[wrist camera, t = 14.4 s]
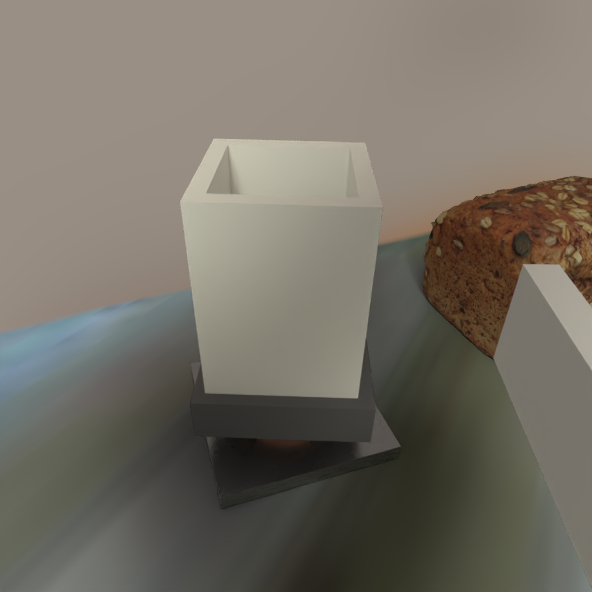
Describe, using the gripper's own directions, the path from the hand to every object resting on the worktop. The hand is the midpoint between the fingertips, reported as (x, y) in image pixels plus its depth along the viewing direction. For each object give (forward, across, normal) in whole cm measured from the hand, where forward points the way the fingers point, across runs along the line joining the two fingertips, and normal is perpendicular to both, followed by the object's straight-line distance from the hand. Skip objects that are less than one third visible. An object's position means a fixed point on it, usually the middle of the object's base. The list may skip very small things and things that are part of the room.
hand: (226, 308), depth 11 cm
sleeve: (+11, +1, -11) cm, 15 cm away
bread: (+24, +21, -17) cm, 36 cm away
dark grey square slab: (+11, +1, -13) cm, 17 cm away
